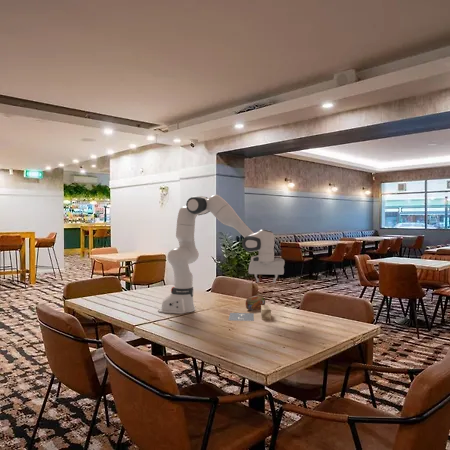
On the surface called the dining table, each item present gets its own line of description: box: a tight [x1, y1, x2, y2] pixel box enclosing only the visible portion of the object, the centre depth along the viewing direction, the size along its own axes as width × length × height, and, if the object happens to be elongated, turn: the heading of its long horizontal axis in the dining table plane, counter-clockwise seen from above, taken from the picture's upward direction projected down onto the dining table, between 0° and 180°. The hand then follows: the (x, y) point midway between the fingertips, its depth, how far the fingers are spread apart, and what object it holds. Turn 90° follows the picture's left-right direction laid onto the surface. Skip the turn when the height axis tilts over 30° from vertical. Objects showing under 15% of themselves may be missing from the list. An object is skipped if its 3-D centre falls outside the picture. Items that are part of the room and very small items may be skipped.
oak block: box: [260, 304, 272, 321], centre depth 230 cm, size 5×12×6 cm, turn 177°
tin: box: [245, 295, 266, 311], centre depth 251 cm, size 15×3×8 cm, turn 129°
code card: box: [228, 312, 255, 322], centre depth 231 cm, size 14×18×1 cm
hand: (266, 282), depth 230 cm, fingers open, 8 cm apart
